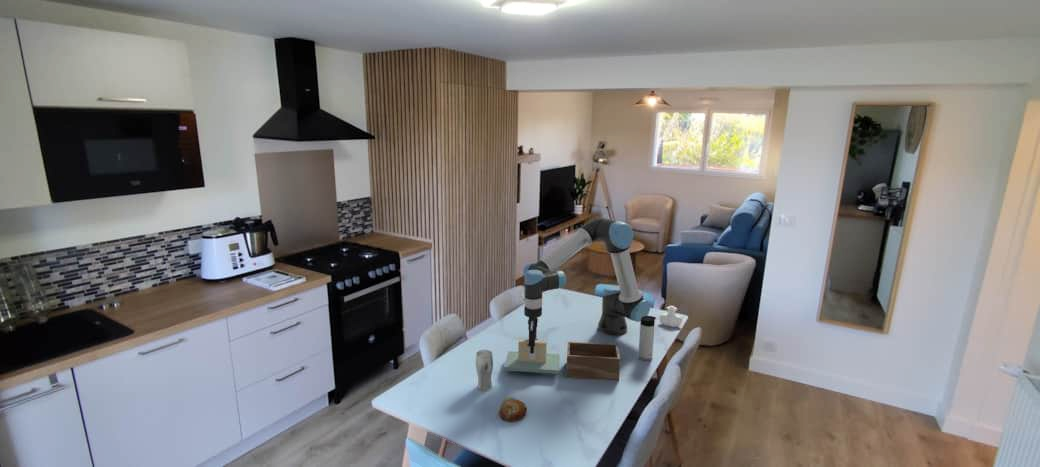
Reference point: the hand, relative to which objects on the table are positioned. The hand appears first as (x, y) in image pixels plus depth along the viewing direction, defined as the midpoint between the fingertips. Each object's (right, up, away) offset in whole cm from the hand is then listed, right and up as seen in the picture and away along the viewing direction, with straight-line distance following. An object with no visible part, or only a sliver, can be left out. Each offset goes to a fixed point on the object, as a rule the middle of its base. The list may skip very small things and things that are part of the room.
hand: (532, 357), depth 211 cm
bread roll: (-8, -13, -32) cm, 35 cm away
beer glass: (-20, -9, -13) cm, 26 cm away
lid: (0, -3, +1) cm, 3 cm away
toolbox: (+26, -6, 0) cm, 27 cm away
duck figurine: (+76, +4, +51) cm, 92 cm away
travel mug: (+53, -4, +13) cm, 54 cm away
